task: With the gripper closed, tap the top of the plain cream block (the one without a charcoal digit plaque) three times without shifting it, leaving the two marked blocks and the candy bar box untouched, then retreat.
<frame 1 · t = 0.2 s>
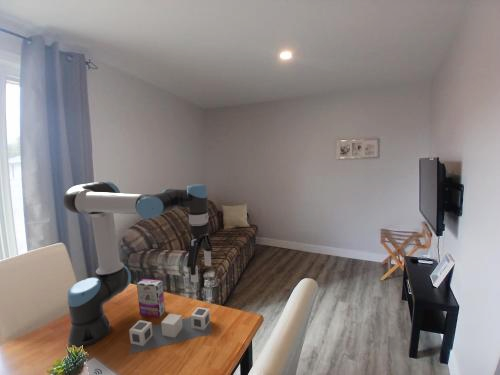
hand: (201, 273, 101), 27 cm above the table, fingers open, 13 cm apart
marked block A: (141, 339, 102), resting on grey mat
candy bar box: (152, 313, 119), on the table
marked block B: (201, 324, 110), resting on grey mat
plain block: (172, 331, 106), resting on grey mat
grey mat: (172, 332, 106), on the table
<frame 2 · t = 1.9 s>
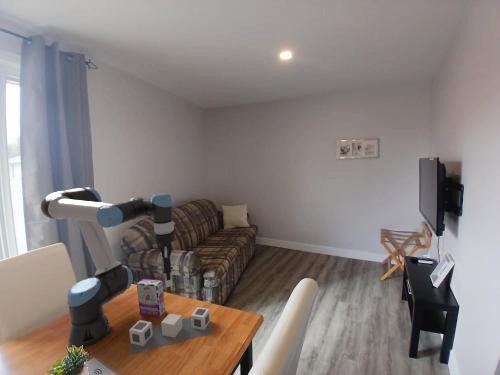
hand: (169, 285, 103), 22 cm above the table, fingers closed
nothing on the table moved.
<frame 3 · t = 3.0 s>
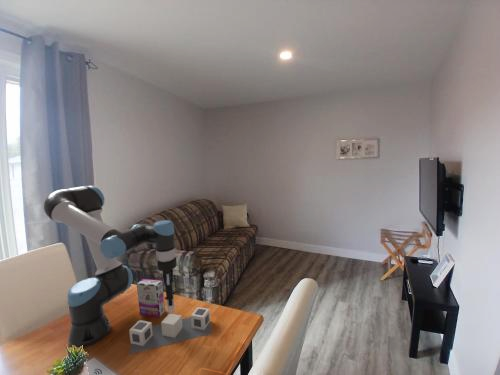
hand: (171, 310, 105), 10 cm above the table, fingers closed
nothing on the table moved.
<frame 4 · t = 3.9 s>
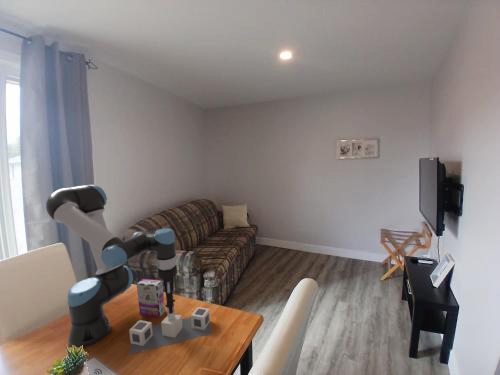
hand: (171, 318, 105), 7 cm above the table, fingers closed
nothing on the table moved.
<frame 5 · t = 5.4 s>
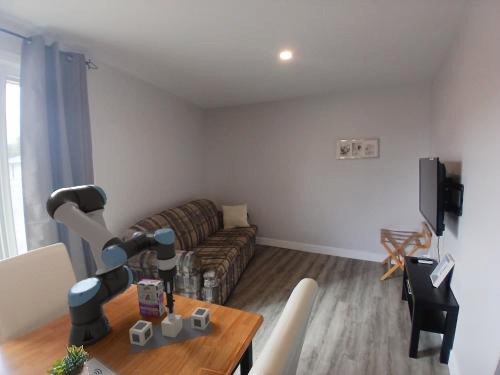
hand: (171, 318, 105), 7 cm above the table, fingers closed
plain block: (172, 331, 106), resting on grey mat, touching gripper
everything else where it was.
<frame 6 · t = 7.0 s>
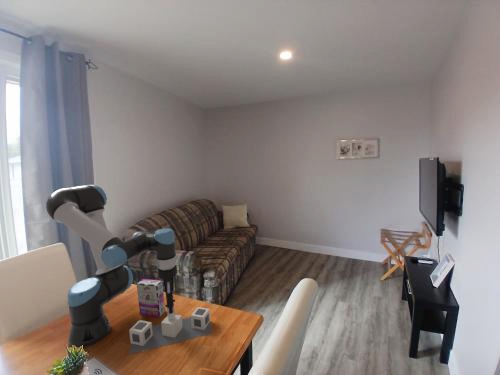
hand: (171, 318, 105), 7 cm above the table, fingers closed
nothing on the table moved.
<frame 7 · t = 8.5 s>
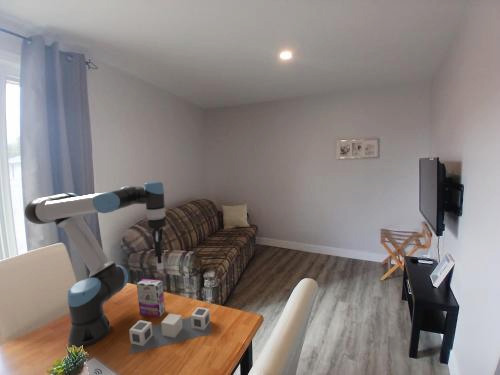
hand: (160, 268, 110), 26 cm above the table, fingers closed
plain block: (172, 331, 106), resting on grey mat
everything else where it was.
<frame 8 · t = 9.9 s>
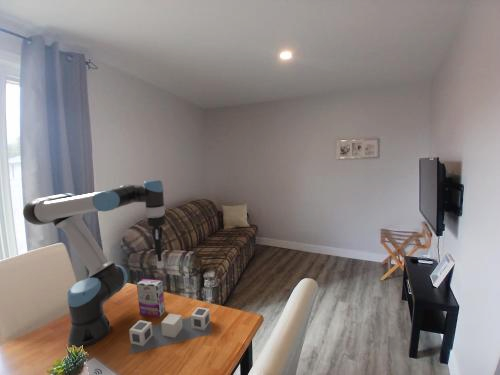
hand: (160, 266, 110), 26 cm above the table, fingers closed
nothing on the table moved.
at the end: plain block moved 0.0 cm from its start; plain block tilted 0°; plain block point 0.5 cm above the table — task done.
